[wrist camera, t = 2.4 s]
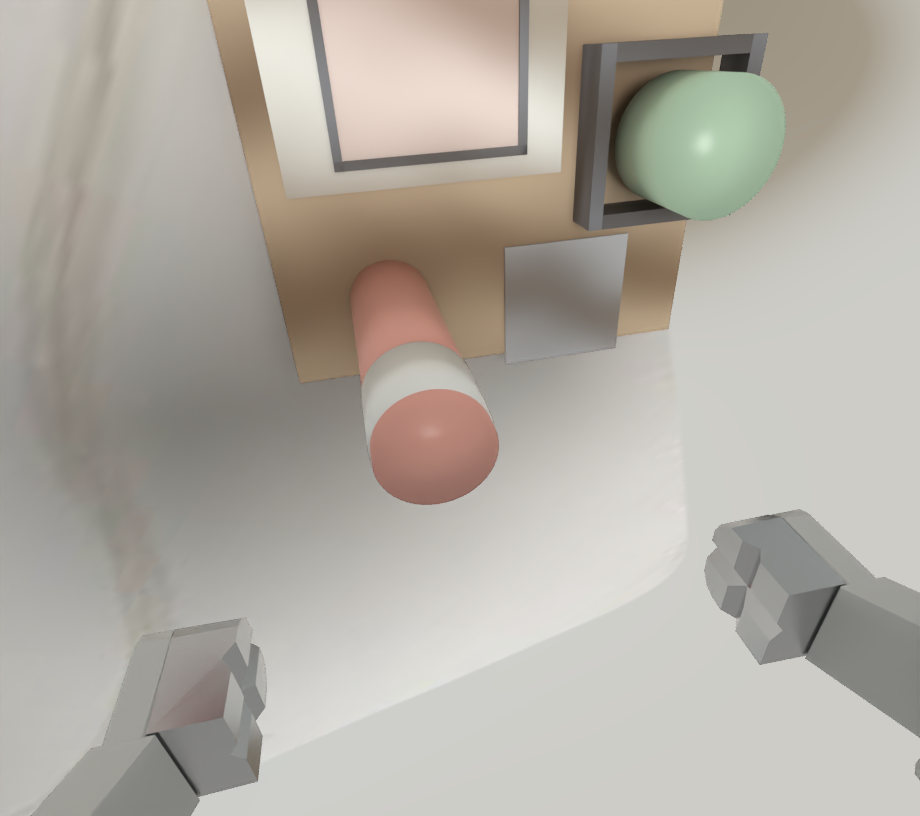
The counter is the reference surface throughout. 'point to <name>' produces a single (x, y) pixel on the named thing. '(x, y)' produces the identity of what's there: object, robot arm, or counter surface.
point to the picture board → (462, 161)
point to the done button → (700, 141)
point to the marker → (417, 391)
